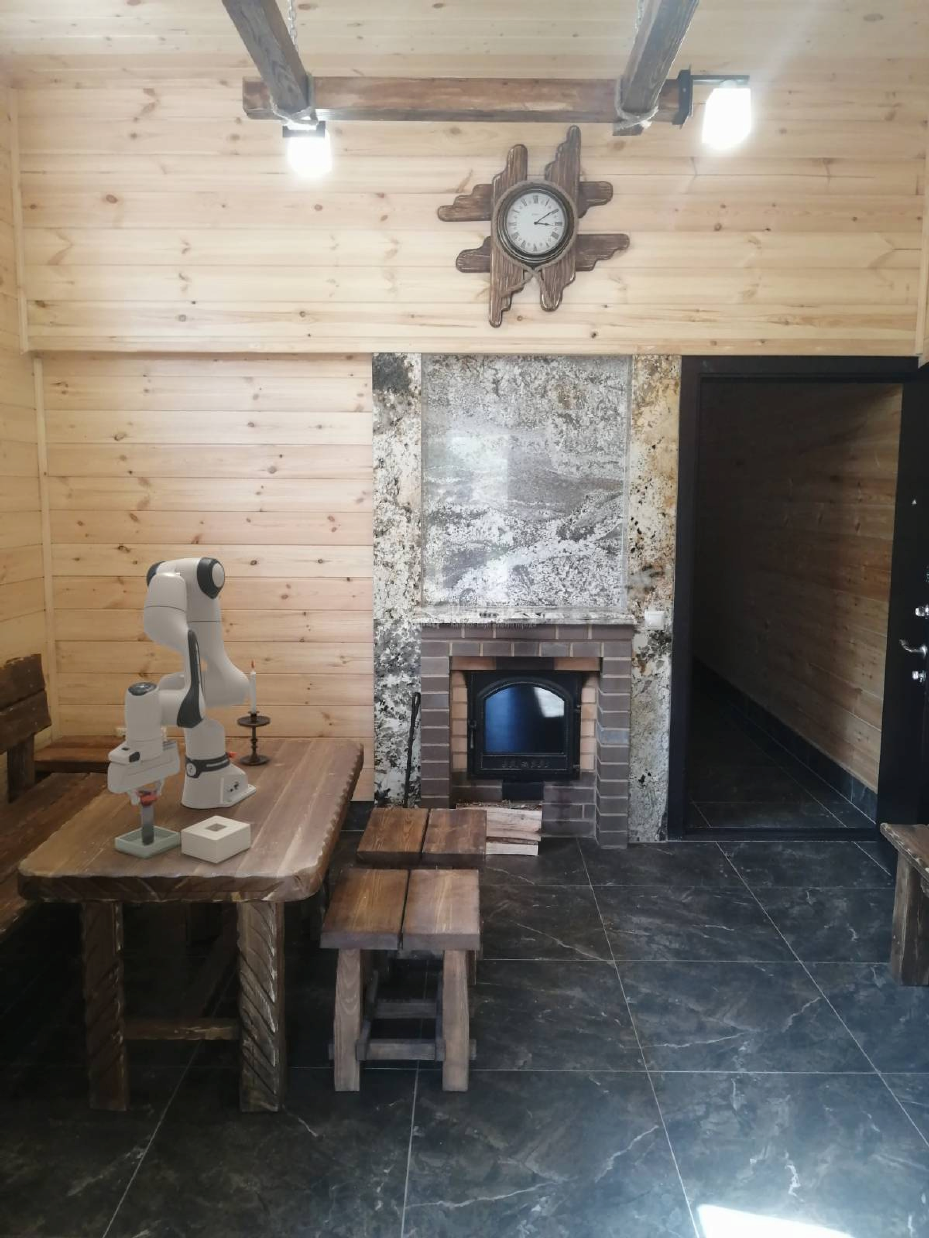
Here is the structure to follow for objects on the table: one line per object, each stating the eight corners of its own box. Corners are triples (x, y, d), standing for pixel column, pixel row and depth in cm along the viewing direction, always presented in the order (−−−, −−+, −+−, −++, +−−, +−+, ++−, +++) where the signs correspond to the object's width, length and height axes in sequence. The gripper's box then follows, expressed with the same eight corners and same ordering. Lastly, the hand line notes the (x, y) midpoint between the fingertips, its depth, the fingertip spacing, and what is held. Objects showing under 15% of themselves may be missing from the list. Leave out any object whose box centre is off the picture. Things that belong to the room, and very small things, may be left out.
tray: (150, 834, 236) (150, 824, 235) (180, 844, 230) (180, 833, 230) (115, 849, 226) (114, 838, 226) (145, 859, 221) (145, 847, 220)
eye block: (216, 836, 235) (216, 815, 234) (250, 846, 229) (250, 824, 228) (181, 852, 225) (181, 830, 224) (216, 863, 219) (215, 840, 218)
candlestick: (260, 768, 292) (259, 663, 286) (231, 764, 295) (229, 661, 289) (276, 758, 302) (275, 657, 297) (248, 755, 305) (246, 655, 300)
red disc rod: (163, 839, 229) (161, 788, 227) (147, 846, 224) (145, 794, 222) (149, 835, 231) (147, 785, 229) (132, 842, 227) (130, 790, 225)
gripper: (168, 735, 235) (169, 785, 237) (102, 755, 217) (104, 809, 219) (185, 739, 231) (186, 790, 234) (119, 760, 214) (122, 814, 216)
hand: (146, 799), depth 226 cm, fingers closed on red disc rod, 5 cm apart
